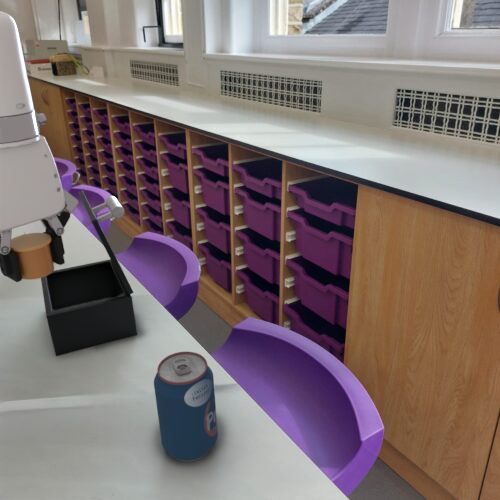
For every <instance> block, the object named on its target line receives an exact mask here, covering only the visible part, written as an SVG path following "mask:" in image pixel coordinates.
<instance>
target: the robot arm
mask: <svg viewBox="0 0 500 500" xmlns="http://www.w3.org/2000/svg"><path fill="white" fill-rule="evenodd" d="M24 58H25V57H24V53H23V49H22V43H21V39H20V33H19V29H18V26H17V22H16V21H15V19H14V17H13V16H11V15H10V13H7V12H4V11H0V272H1V274H2V275H3V276H4V277H6V278H8V279H10V280H12V281H14V282H16V283H19V282H22V280H23V279H22V274H21V270H20V266H19V262H18V258H17V255H16V253H15V252H14V251H12V250H11V239H12V235H13V234H12V233H13V232H12V231H13V229H16V228H19V227H23V225H26V224H29V223H32V222H36V221H39V220H40V221H41V222H42V224H43V226H44V227H45V229H46V230H45V231H46V232H43V233H46V234H49V235H50V236H51V242H50V243H49V246H50V251H51V256H52V260H53V264H57V265H58V266H62V265H64V264H65V263H66V262H65V257H64V255H65V253H66V251H65V246H64V241H63V237H62V236H63V235H64V233H65V227H66V226H67V224H68V222H69V220H70V218H71V214H73V212H74V211H75V209H76V208H77V206H79V200H78V199H77V198H76V197H75V196H73V194H71V193H70V192H68V191H67V190H66V189H65V188H63V185H62V181H61V177H60V173H59V170H58V166H57V163H56V161H55V158H54V155H53V153H52V149H51V148H50V146H49V143H48V140H47V139H46V137H45V136H44V135H41V134H40V133H41V129H40V127H41V126H42V125H46V124H47V122H48V119H47V116H46V114H45V113H43V112H40V113H38V112H37V110H36V109H35V107H34V102H33V97H32V92H31V86H30V83H29V79H28V78H29V77H28V72H27V68H26V62H25V59H24Z"/></svg>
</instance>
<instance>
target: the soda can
mask: <svg viewBox="0 0 500 500" xmlns="http://www.w3.org/2000/svg"><path fill="white" fill-rule="evenodd" d="M153 388H154V395H155V403H156V410H157V417H158V418H157V419H158V424H159V433H160V439H161V440H160V441H161V445H162V447H163V449H164V450H165V451H166V453H167V454H169V455H170V456H171V457H173V459H175V460H178V461H181V462H187V463H188V462H195V461H198V460H201V459H203V458H204V457H206V455H208V454H209V453H210V451H211V450H212V449H213V447H214V446H215V444H216V443H217V439H218V433H219V432H218V421H217V406H216V405H217V404H216V394H215V381H214V372H213V370H212V369H211V367H210V366H209V364H208V362H207V360H206V358H205V357H204V356H203V355H201V354H200V353H197V352H194V351H179V352H174V353H171V354H169V355H167V356H166V357H164V358H163V359H162V360H161V361H160V362H159V363H158V365H157V370H156V373H155V376H154V379H153Z"/></svg>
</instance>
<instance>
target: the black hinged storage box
mask: <svg viewBox="0 0 500 500" xmlns="http://www.w3.org/2000/svg"><path fill="white" fill-rule="evenodd" d="M40 281H41V282H40V283H41V289H42V295H43V303H44V309H45V316H46V317H45V318H46V321H47V325H48V330H49V333H50V339H51V342H52V347H53V351H54V354H55V357H60V356H63V355H66V354H70V353H74V352H79V351H81V350H85V349H90V348H93V347H98V346H100V345H105V344H108V343H109V344H110V343H112V342H116V341H120V340H123V339H128V338H132V337H136V336H138V329H137V323H136V322H137V321H136V316H135V310H134V304H133V296H132V294H130V295H129V294H128V292H127V290H126V288H125V286H124V284H123V282H122V280H121V278H120V276H119V274H118V272H117V271H116V269H115V267H114V265H113V263H112V261H111V259H110V258H109V259H105V260H101V261H96V262H91V263H90V262H89V263H85V264H81V265H77V266H76V265H75V266H70V267H65V268H61V269H56V270H55V269H54V271H53V272H52V273H51V274H49V275H47V276H45V277H42V278H40Z"/></svg>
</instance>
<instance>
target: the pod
mask: <svg viewBox="0 0 500 500" xmlns="http://www.w3.org/2000/svg"><path fill="white" fill-rule="evenodd" d="M50 242H51V236H50V235H49V234H46V233H29V234H24V233H23V234H20V235H18V236H17V235H16V236H15V237H13V238H11V250H12V251H14V252H15V253H16V255H17V258H18V262H19V266H20V270H21V274H22V279H21V280H28V281H29V280H38V279H41V278H42V277H45V276H47V275H49V274H51V273H52V272H53V271H55V265H54V262H53V260H52V256H51V251H50V246H49V243H50Z"/></svg>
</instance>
